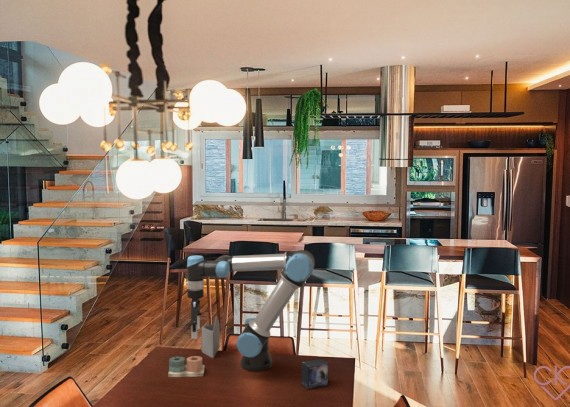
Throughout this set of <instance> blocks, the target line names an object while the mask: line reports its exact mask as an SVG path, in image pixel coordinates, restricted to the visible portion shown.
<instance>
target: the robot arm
mask: <svg viewBox="0 0 570 407" xmlns="http://www.w3.org/2000/svg"><path fill="white" fill-rule="evenodd" d="M315 260H316V259H315V257H314V255H313V254H312V253H311V252H310V251H308V250H305V249H300V250H289V251H285V252H284V253H273V254H252V255H251V254H250V255H231V256H230V255H228V254H227V255H226V254H224V255H221V256H219V257H218V258H217V259H215V260H206V259H204V256H203V255H190V256H188V257H187V263H186V264H187V265H186V271H187V272H186V276H187V277H186V278H187V281H186V282H185V284H186V286H187V292H186V295H187V298H188V299H192V300H191V301H190V309H191V310H190V311H191V315H190V320H191V321H190V322H189V326H191V327H190V328H191V330H190V331H191V332H190V333H191V336H190V338H191V339H192V340H193V339H195V340H196V339H198V330H200V328H201V327H200V326H201V325H200V322H201V320H200V319H201V318H200V316H202V313H201V311H200V308H201V307H200V306H201V300H200V299H202V298H203V297H205V296H204V291H205V290H204V287H205V286H204V285H205V284H204V282H205V280H204V278H206V277H207V278H220V279H221V278H228V277H229V275H230V273H231V272H233V273H234V272H255V271H257V272H258V271H278V270H280V279H279V281H278V282H277V284H276V285H275V286H274V289H273V290H272V292H271V293H270V295H269V296H268V297H267V300H265V303H263V306H262V307H261V308H260V310H259V311H258V313H257V315H256V316H255V317H251V318H246V319H245V321H244V329H243V330H242V332H241V334H239V335H238V337H237V340H236V349H237V351H238V353H240V354H241V355H242V357H241V360H240V367H241V368H242V369H244V370H246V371H250V372H251V371H252V372H261V371H266V370H269V369H270V368H271V367H273V366H272V365H273V359H272V357H271V353H270V350H269V342H270V341H269V339H270V337H271V329H272V328H273V326H274V325H275V323H276V322H277V320H278V319H279V317H280V316H281V314H282V312H283V311H284V309H285V307H286V306H287V304H288V303H289V302H290V300H291V298H292V297H293V296H294V294H295V293H296V291H297V289H300V288H302V287H303V286H304V285H305V283H306V282H307V280H308V279H309V278H310V277H311V275H312V273H313V272H314V269H315V266H316V261H315Z"/></svg>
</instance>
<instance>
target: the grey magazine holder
mask: <svg viewBox="0 0 570 407" xmlns="http://www.w3.org/2000/svg"><path fill="white" fill-rule="evenodd" d="M220 330H221V326H220V321H219V318H218V316H217V315H216V316H215V319H214V323H211V324H207V325H204V326H201V352H202V353H203V354H205V355H206V356H207V357H210V358H211V359H214V358H215V356H216V354H217V352H218V351H219V349H220V337H221V336H220Z"/></svg>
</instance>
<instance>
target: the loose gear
mask: <svg viewBox="0 0 570 407" xmlns="http://www.w3.org/2000/svg"><path fill="white" fill-rule="evenodd" d="M186 365H187V371H189V372H198V371H201V370H202V365H203V357H202V356H199V355H192V356H189V357H187V358H186Z"/></svg>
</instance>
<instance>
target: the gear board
mask: <svg viewBox="0 0 570 407" xmlns="http://www.w3.org/2000/svg"><path fill="white" fill-rule="evenodd" d="M205 366H206V365H204V364H202V370H201V371H198V372H189V371H187V364H186V357H184V356H173V357H170V358H169V360H168V373H167V377H168V378H189V377H190V378H191V377H192V378H193V377H204V375H205V374H204V373H205V368H206V367H205Z"/></svg>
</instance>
